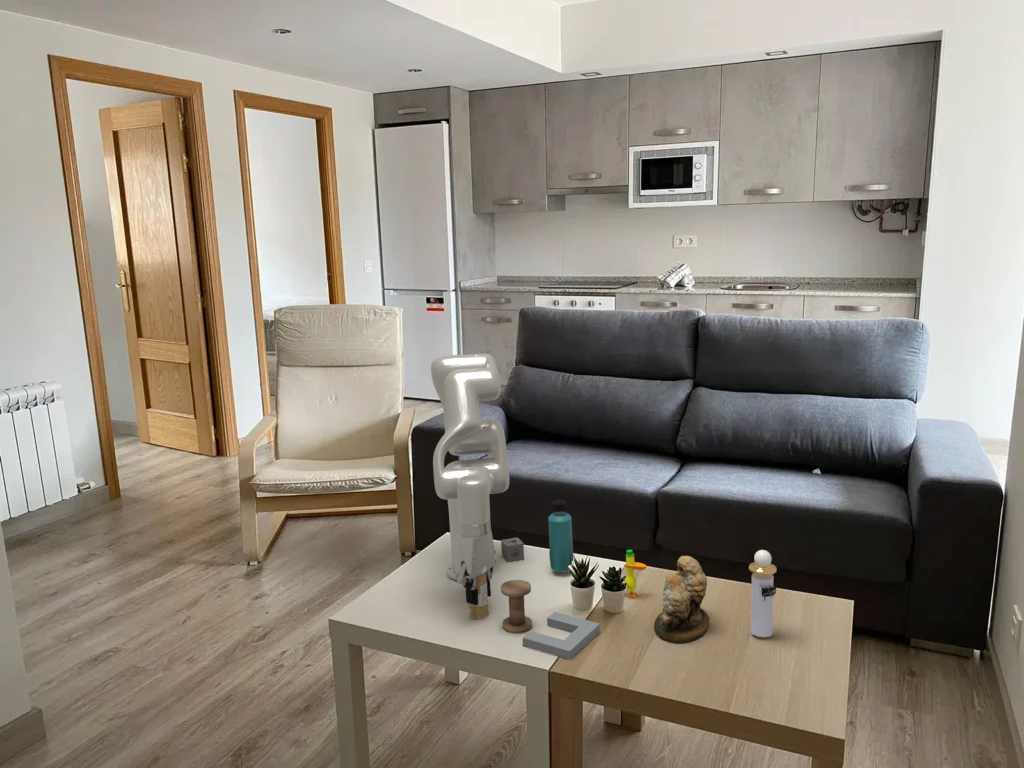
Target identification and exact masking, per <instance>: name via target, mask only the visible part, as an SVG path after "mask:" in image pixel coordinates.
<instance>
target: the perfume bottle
mask: <svg viewBox="0 0 1024 768" xmlns="http://www.w3.org/2000/svg"><path fill="white" fill-rule="evenodd" d="M772 560H773V559H772V555H771V553H770V552H769V551H768V550H766V549H759V550H758V551H756V552H755V553H754V561H753V562H751V563H750V564H749V566H748V570H749V571H750V572H751V602H750V603H751V605H750V606H751V607H750V632H751V634H752V635H753V636H756V637H759V638H768V637H771V636H772V635H773V629H774V628H773V626H774V625H773V624H774V622H773V621H774V618H773V617H774V615H773V614H774V613H773V612H774V596H775V594H776V595H777V585H774V574H775V573H777V566H776V565H774V564H772Z"/></svg>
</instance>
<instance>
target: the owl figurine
mask: <svg viewBox="0 0 1024 768" xmlns="http://www.w3.org/2000/svg"><path fill="white" fill-rule="evenodd" d="M676 566H677V571H676V573H669V574H667V575H666V576H665V579H664V582H663V583H664V585H663V586H664V587H663V590H662V596H663V597H662V601H663V605H662V606H663V608H662V612H660V613H659V614H658V615H657V617H656V618H655V620H654V623H653V626H654V627H653V628H654V632H655V634H656V636H658V638H659V639H661V640H662V641H665V642H668V643H673V644H690V643H693V642H695V641H696V640H697V641H698V640H699V639H700V638H702V637H703V636H704V635H705V634H706V633H707V631H708V629H709V627H710V617H709V614H708V613H707V612H706V611H705V610H704V609H703V608H701V605H702V603H703V601H704V598H705V597H706V591H707V586H708V579H707V575H706V574H705V572H704V571H703V569H702V567H701V564H700V563H699V561H698V560H697V559H695V558H694V557H693V556H689V555H681V556H680V557H679V558H678V560H677V563H676Z"/></svg>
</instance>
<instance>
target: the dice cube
mask: <svg viewBox="0 0 1024 768" xmlns="http://www.w3.org/2000/svg"><path fill="white" fill-rule="evenodd" d="M500 544H501V545H500V547H501V548H500V549H501V557H502V559H503V560H504V559H505V560H506V561H507V562H506V561H505V560H504V561H505V562H506V563H507V564H509V563H508V562H510V563H515V562H520V560H521V561H525V547H524V544H525V543H524V542H523V541H522V540H521V539H520V538H519V537H512V538H507V539H505V538H504V539H501V540H500ZM514 561H515V562H514Z"/></svg>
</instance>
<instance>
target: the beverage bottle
mask: <svg viewBox="0 0 1024 768" xmlns="http://www.w3.org/2000/svg"><path fill="white" fill-rule="evenodd" d="M567 505H568V504H567V501H566V500H562V499H555V500H553V501H551V511H553V512H552V513H551V514H550V515H549V516H548V518H547V519H548V536H549V538H548V545H549V550H548V552H549V554H548V555H549V564H550V565H549V567H550V569H551V570H552V571H555V572H558V573H562V572H563V573H564V572H569V571H568V566H569V565H571V564H572V561H574V557H575V556H574V548H573V547H574V543H573V542H574V541H573V537H574V536H573V527H572V526H573V525H572V516H571V514H569V513H567V512H566V511H567V510H568V506H567Z"/></svg>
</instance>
